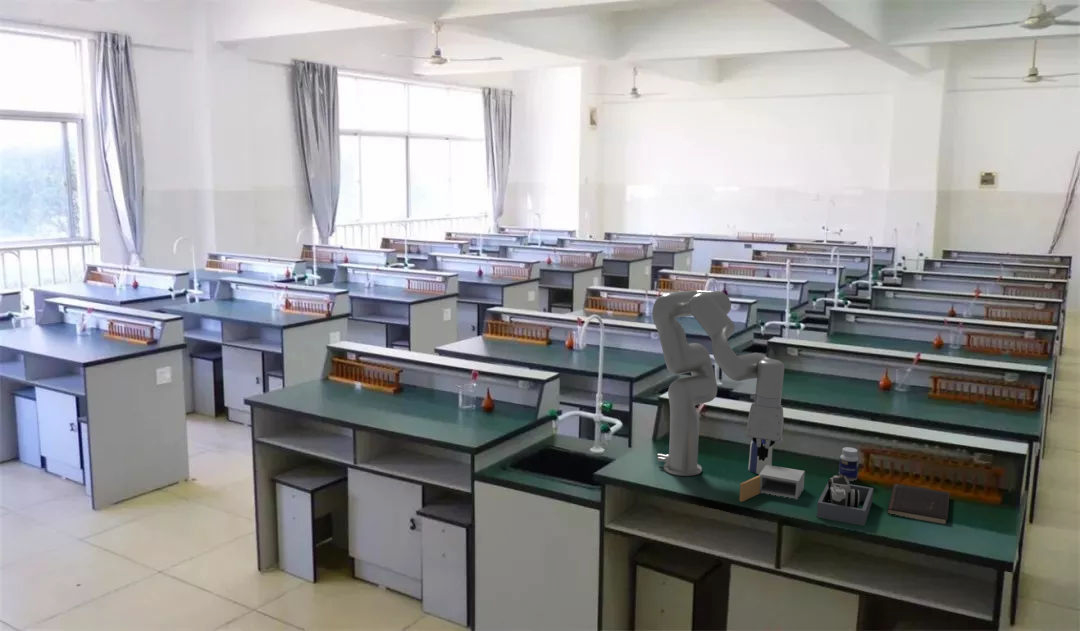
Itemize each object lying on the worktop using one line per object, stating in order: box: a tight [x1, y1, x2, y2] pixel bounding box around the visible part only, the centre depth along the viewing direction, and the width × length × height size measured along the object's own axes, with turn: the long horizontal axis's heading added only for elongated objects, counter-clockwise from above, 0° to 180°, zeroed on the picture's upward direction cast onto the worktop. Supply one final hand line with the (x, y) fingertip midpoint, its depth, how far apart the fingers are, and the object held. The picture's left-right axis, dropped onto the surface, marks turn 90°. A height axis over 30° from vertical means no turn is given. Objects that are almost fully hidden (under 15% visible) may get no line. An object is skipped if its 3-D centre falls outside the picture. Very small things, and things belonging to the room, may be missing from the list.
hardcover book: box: [886, 483, 950, 525], centre depth 254 cm, size 16×23×2 cm
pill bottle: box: [838, 446, 860, 482], centre depth 275 cm, size 6×6×10 cm
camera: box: [827, 475, 860, 509], centre depth 249 cm, size 16×9×10 cm, turn 165°
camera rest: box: [816, 482, 874, 527], centre depth 250 cm, size 13×20×4 cm, turn 152°
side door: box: [738, 474, 762, 502], centre depth 258 cm, size 11×1×6 cm, turn 134°
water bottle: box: [747, 439, 773, 475], centre depth 281 cm, size 8×9×25 cm
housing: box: [758, 464, 806, 500], centre depth 264 cm, size 12×10×6 cm
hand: (762, 458), depth 254 cm, fingers closed
